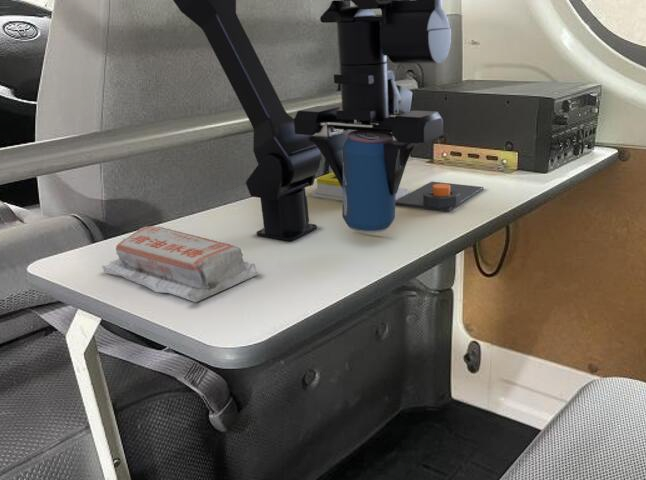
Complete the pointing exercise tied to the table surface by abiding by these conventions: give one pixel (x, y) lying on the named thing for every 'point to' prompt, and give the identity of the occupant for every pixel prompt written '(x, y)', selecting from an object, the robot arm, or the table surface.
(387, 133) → the soda can
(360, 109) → the robot arm
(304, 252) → the table surface
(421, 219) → the table surface
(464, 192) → the scale
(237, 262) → the packaged product
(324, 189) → the emergency button
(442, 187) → the button
